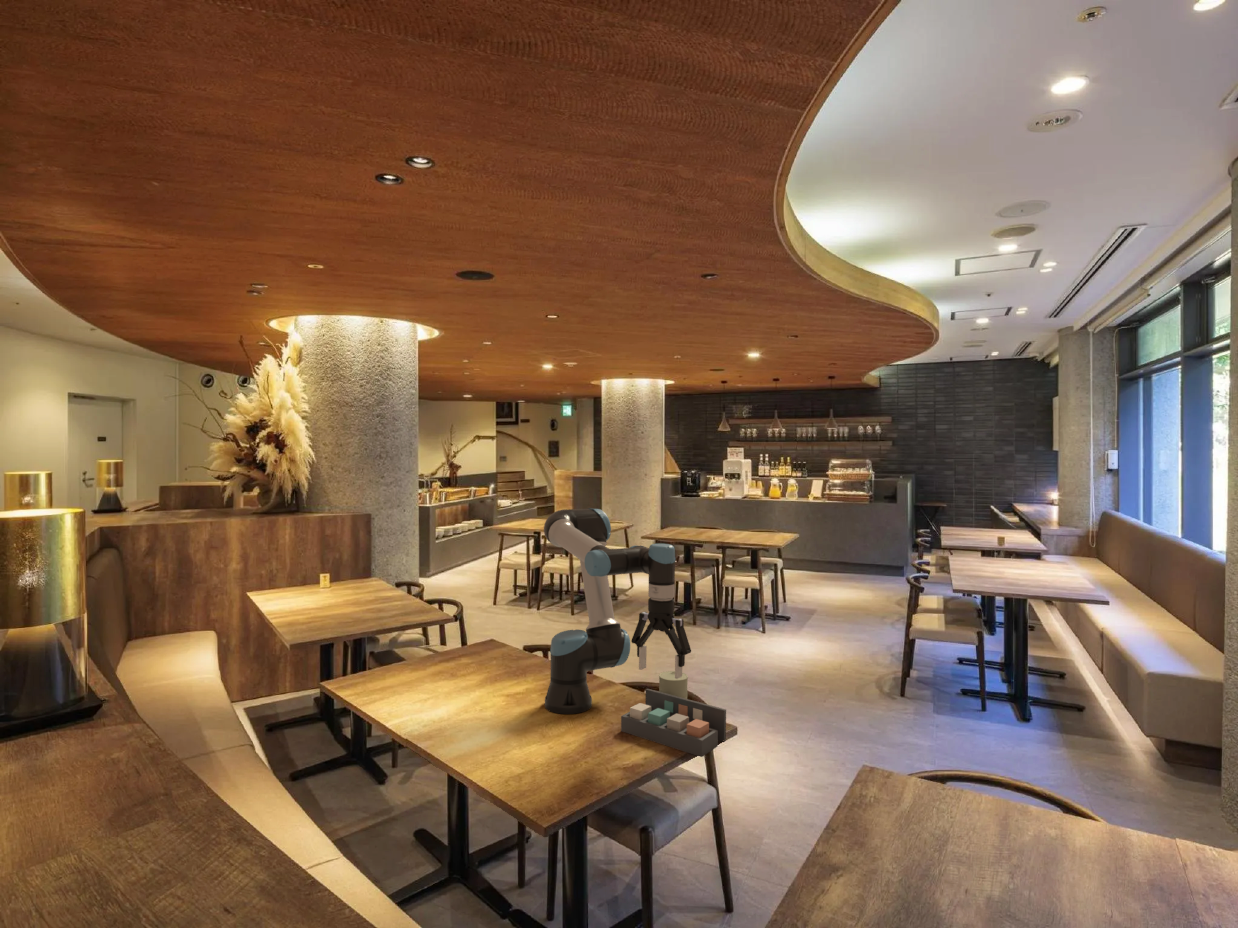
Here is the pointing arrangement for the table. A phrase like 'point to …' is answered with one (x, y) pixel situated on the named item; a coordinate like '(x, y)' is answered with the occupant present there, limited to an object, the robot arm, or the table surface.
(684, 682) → the can
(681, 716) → the grey block
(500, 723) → the table surface
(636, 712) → the key
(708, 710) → the screen
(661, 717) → the key
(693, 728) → the key
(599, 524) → the robot arm
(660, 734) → the key frame
